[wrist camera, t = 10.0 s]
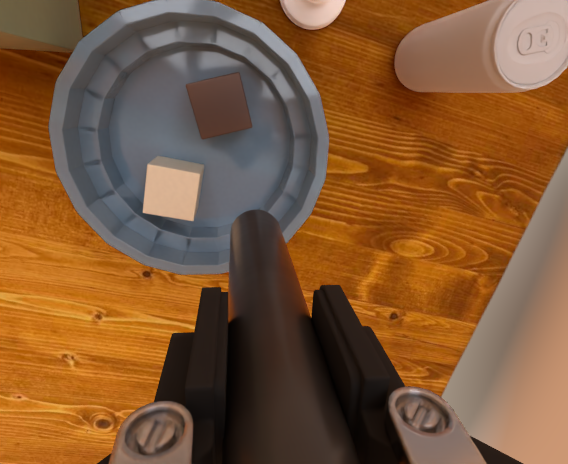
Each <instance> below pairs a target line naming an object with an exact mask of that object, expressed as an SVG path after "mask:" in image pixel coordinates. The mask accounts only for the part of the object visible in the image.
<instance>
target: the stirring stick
mask: <svg viewBox="0 0 568 464" xmlns="http://www.w3.org/2000/svg"><path fill="white" fill-rule="evenodd" d="M222 464H361V463H360V460H359V457H358V454H357V451H356V448H355V445H354V442H353V439H352V436H351V433H350V430H349V427H348V425H347V422H346V419H345V416H344V413H343V410H342V407H341V404H340V401H339V398H338V395H337V392H336V389H335V386H334V383H333V381H332V378H331V375H330V372H329V369H328V366H327V363H326V360H325V357H324V354H323V351H322V348H321V345H320V342H319V340H318V337H317V334H316V331H315V328H314V325H313V322H312V319H311V316H310V313H309V310H308V307H307V304H306V301H305V299H304V296H303V293H302V290H301V287H300V284H299V281H298V278H297V275H296V272H295V269H294V266H293V263H292V260H291V258H290V255H289V252H288V249H287V246H286V243H285V240H284V237H283V234H282V231H281V228H280V225H279V223H278V221H277V220H276V218H275V217H274V216H273V215H272V214H270V213H268V212H266V211H263V210H257V209H256V210H249V211H246V212H244V213H242V214H240V215H239V216H238V217H237V218H236V219H235V221H234V222H233V224H232V227H231V232H230V258H229V285H228V355H227V387H226V420H225V435H224V439H223V449H222Z"/></svg>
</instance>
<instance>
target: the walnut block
mask: <svg viewBox="0 0 568 464" xmlns="http://www.w3.org/2000/svg"><path fill="white" fill-rule="evenodd" d="M186 89H187V92H188V96H189V99H190V102H191V106H192V109H193V113H194V116H195V119H196V123H197V126H198V129H199V133H200V136H201V139H207V138H212V137H216V136H220V135H224V134H228V133H233V132H237V131H241V130H245V129H249V128H252V122H251V118H250V114H249V109H248V105H247V101H246V97H245V93H244V89H243V85H242V80H241V76H240V73H239V72H236V73H231V74H227V75H223V76H218V77H214V78H210V79H205V80H201V81H197V82H193V83H188V84H186Z"/></svg>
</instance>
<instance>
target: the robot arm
mask: <svg viewBox="0 0 568 464" xmlns="http://www.w3.org/2000/svg"><path fill="white" fill-rule="evenodd" d="M311 319H312V322H313V325H314V328H315V331H316V334H317V337H318V340H319V342H320V345H321V348H322V351H323V354H324V357H325V360H326V363H327V366H328V369H329V372H330V375H331V378H332V381H333V383H334V386H335V389H336V392H337V395H338V398H339V401H340V404H341V407H342V410H343V413H344V416H345V419H346V422H347V425H348V427H349V430H350V433H351V436H352V439H353V442H354V445H355V448H356V451H357V454H358V457H359V460H360V463H361V464H523V463H521V462H519V461H517V460H515V459H513V458H511V457H509V456H508V455H506V454H504V453H502V452H500V451H498V450H496V449H494V448H492V447H490V446H488V445H487V444H485V443H483V442H481V441H479V440H477V439H475V438H473V437H471V436H469V434H468V433H467V431H466V430H465V428H464V426H463V425H462V423H461V421H460V420H459V418H458V417H457V415H456V413H455V412H454V410H453V409H452V408H451V406H450V405H449V404H448V403H447V402H446V401H445V400H444V399H442V398H441V397H440V396H439V395H437V394H435V393H433V392H431V391H429V390H426V389H423V388H420V387H411V386H408V387H405V385H404V383H403V382H402V380H401V378H400V377H399V375H398V373H397V371H396V370H395V368H394V366H393V365H392V363H391V361H390V359H389V358H388V356H387V354H386V353H385V351H384V349H383V347H382V346H381V344H380V342H379V341H378V339H377V337H376V335H375V334H374V332H373V330H372V329H371V328H370V327H368V326H362V325H361V323H360V321H359V319H358V318H357V316H356V314H355V312H354V310H353V309H352V307H351V305H350V303H349V301H348V299H347V298H346V296H345V294H344V292H343V290H342V288H341V287H340V285H321V286H320V290H315V291H314V295H313V306H312V318H311ZM227 355H228V292H221V287H211V288H202V292H201V298H200V303H199V309H198V315H197V321H196V326H195V332H192V333H173V334H172V337H171V340H170V344H169V347H168V351H167V355H166V359H165V362H164V366H163V370H162V374H161V377H160V381H159V385H158V389H157V392H156V396H155V400H154V403H149V404H147V405H145V406H143V407H140V408H138V409H137V410H136V411H134V412H133V413H131V414H130V415H129V416H128V417H127V418H126V419H125V420H124V422H123V423H122V424H121V426H120V428H119V430H118V433H117V435H116V439H115V442H114V446H113V450H112V453H111V454H110V455H108V456H107V457H106V458H104V459H103V460H101V461H100V462H99V463H97V464H222V449H223V439H224V435H225V420H226V387H227Z"/></svg>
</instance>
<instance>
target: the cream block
mask: <svg viewBox="0 0 568 464" xmlns="http://www.w3.org/2000/svg"><path fill="white" fill-rule="evenodd" d="M203 171H204V165H203V164H198V163H193V162H188V161H183V160H178V159H172V158H167V157H162V156H157V157H156V158H154V159H153V160H152V161H151V162H150V163H148V164H147V173H146V183H145V193H144V203H143V213H146V214H152V215H158V216H164V217H170V218H176V219H182V220H188V221H194V218H195V215H196V212H197V209H198V204H199V197H200V191H201V184H202V178H203Z"/></svg>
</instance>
